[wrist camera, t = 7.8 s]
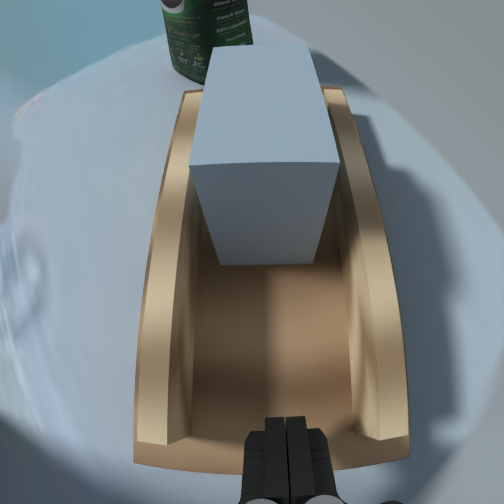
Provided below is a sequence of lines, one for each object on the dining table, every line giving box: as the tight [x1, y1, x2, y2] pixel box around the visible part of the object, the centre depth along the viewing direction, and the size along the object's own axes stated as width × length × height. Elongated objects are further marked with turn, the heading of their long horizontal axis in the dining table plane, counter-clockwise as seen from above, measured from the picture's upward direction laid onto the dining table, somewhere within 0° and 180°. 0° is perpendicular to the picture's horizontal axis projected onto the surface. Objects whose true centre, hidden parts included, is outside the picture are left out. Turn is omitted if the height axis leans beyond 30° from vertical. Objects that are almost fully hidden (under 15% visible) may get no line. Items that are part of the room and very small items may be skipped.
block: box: [188, 45, 340, 265], centre depth 16 cm, size 9×5×8 cm, turn 0°
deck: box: [134, 86, 409, 475], centre depth 18 cm, size 28×14×7 cm, turn 0°
